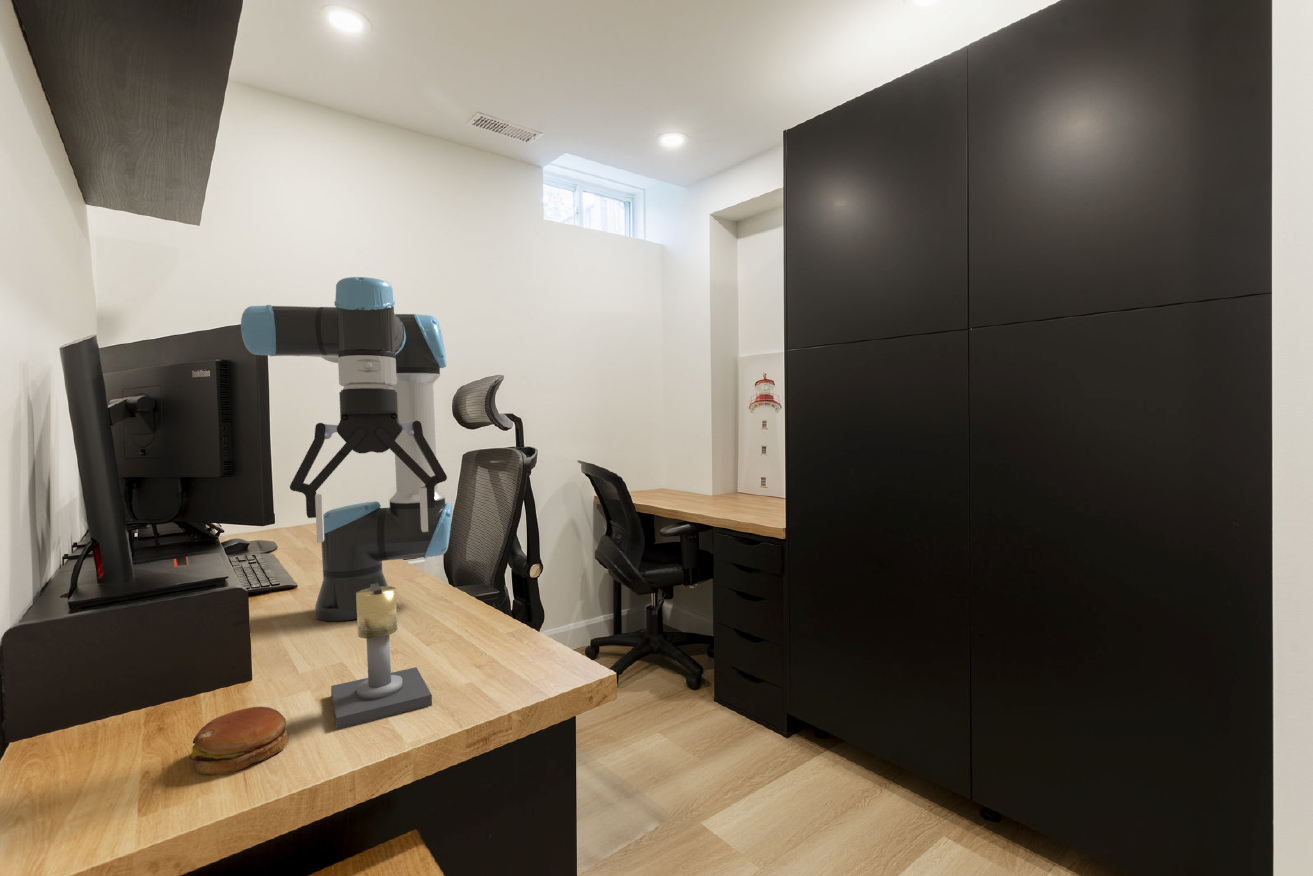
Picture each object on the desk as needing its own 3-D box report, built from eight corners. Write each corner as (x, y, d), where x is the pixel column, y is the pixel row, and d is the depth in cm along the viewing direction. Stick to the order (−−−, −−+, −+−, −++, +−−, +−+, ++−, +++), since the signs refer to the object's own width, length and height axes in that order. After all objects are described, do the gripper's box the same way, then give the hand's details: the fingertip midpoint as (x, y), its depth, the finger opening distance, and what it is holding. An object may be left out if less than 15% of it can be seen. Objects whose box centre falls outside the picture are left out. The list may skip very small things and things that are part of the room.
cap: (356, 630, 89) (354, 586, 89) (394, 623, 92) (392, 580, 92) (359, 641, 85) (357, 594, 84) (399, 633, 87) (398, 587, 87)
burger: (304, 738, 78) (303, 702, 78) (242, 780, 69) (240, 740, 69) (240, 733, 80) (238, 698, 80) (171, 773, 71) (168, 734, 71)
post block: (331, 696, 90) (328, 629, 90) (416, 676, 97) (414, 614, 96) (336, 729, 80) (333, 654, 80) (432, 705, 86) (429, 635, 86)
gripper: (262, 386, 78) (269, 550, 79) (462, 386, 89) (468, 530, 90) (269, 390, 85) (276, 541, 86) (455, 390, 96) (460, 523, 97)
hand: (374, 535), depth 88 cm, fingers open, 13 cm apart
